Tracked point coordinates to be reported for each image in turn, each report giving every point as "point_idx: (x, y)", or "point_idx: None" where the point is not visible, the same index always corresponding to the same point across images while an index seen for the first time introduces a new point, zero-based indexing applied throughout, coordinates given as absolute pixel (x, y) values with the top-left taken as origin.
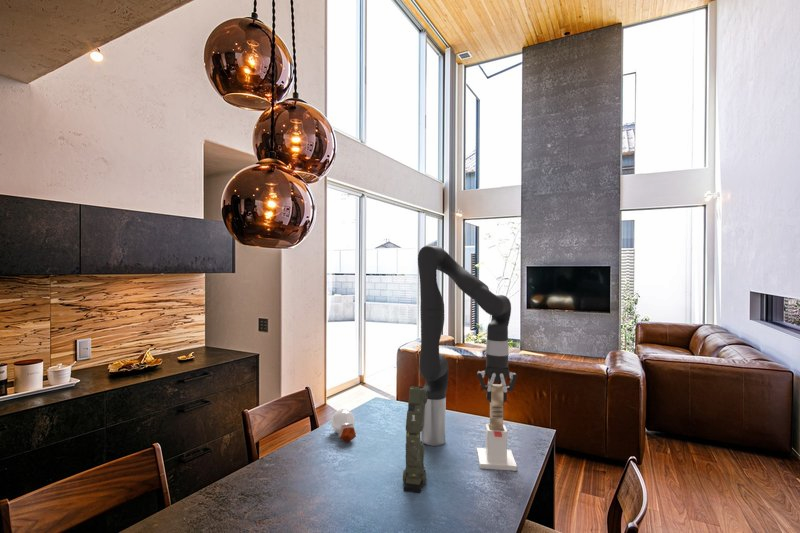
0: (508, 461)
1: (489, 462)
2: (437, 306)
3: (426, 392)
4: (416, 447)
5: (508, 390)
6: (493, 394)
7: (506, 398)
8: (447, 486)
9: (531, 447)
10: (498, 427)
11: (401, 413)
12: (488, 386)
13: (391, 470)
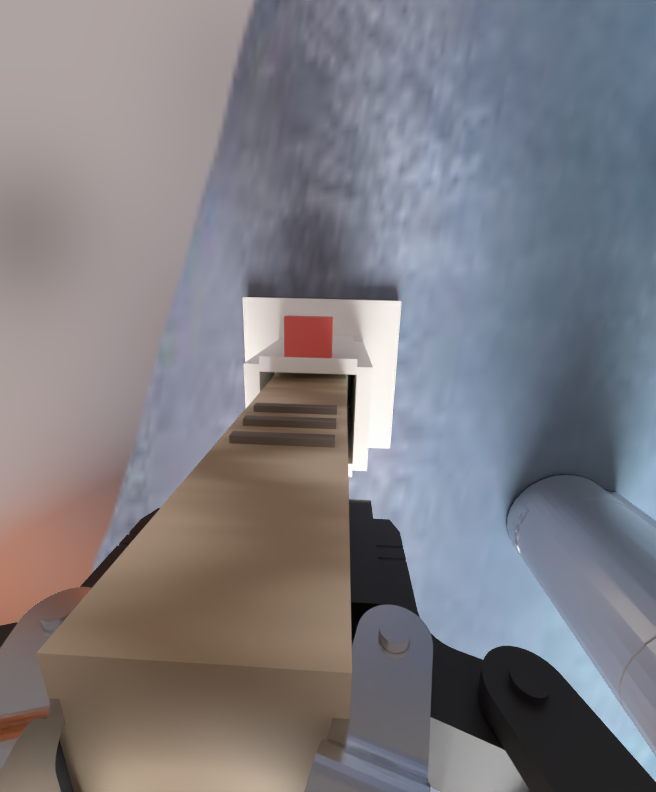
0: (272, 335)
1: (357, 316)
2: None
3: None
4: None
5: (3, 634)
6: (314, 539)
7: (133, 533)
8: (574, 113)
9: (165, 495)
10: (296, 386)
11: None
12: (423, 725)
13: None
